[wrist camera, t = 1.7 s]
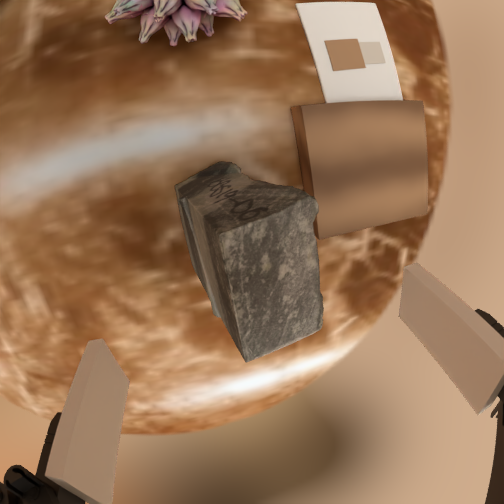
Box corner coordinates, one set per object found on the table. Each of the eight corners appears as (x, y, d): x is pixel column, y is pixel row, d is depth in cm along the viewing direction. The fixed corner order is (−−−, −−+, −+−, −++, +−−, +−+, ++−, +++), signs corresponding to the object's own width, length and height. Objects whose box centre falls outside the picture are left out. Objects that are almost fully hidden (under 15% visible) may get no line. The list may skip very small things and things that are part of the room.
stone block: (221, 158, 25) (164, 172, 24) (322, 180, 13) (214, 206, 11) (236, 249, 29) (186, 265, 27) (326, 330, 17) (247, 366, 15)
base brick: (290, 107, 24) (301, 105, 21) (405, 100, 25) (422, 100, 22) (308, 228, 29) (319, 239, 26) (411, 205, 30) (427, 213, 27)
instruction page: (295, 4, 19) (296, 3, 19) (373, 4, 20) (376, 2, 19) (329, 117, 25) (331, 117, 24) (402, 105, 25) (405, 105, 24)
